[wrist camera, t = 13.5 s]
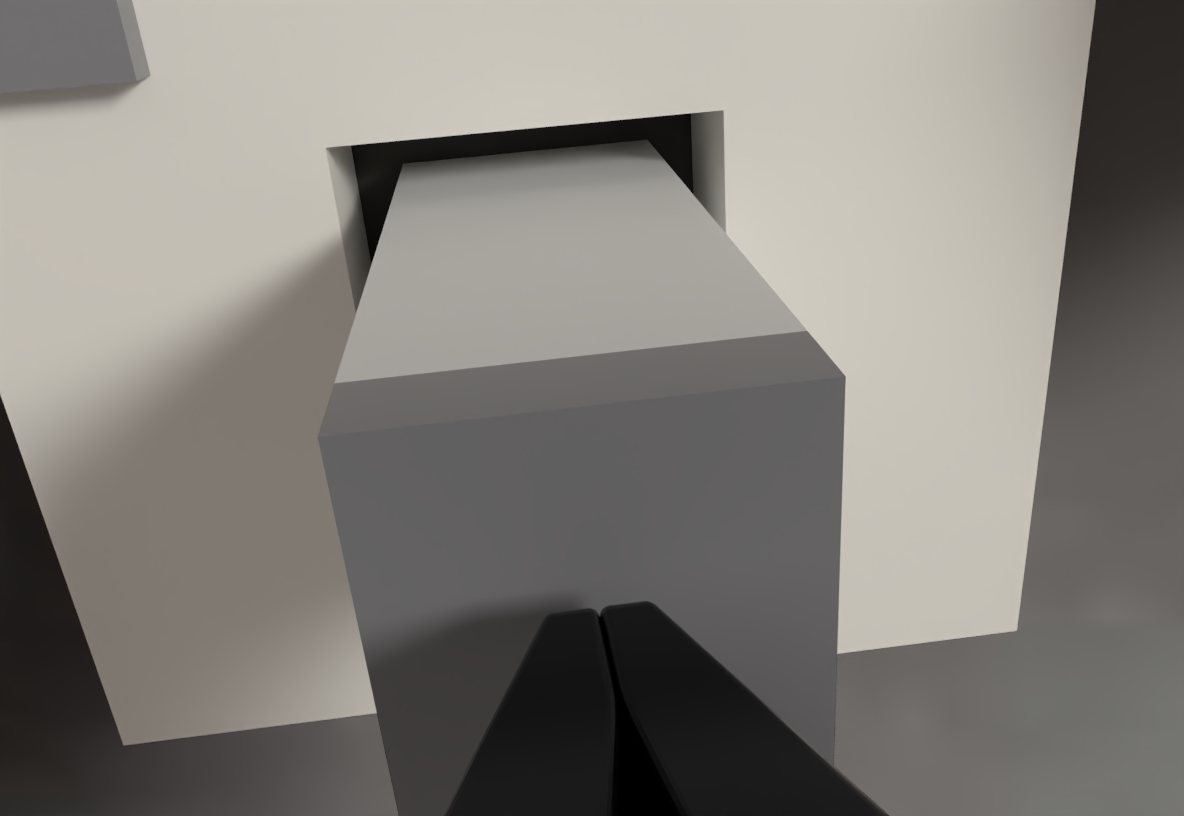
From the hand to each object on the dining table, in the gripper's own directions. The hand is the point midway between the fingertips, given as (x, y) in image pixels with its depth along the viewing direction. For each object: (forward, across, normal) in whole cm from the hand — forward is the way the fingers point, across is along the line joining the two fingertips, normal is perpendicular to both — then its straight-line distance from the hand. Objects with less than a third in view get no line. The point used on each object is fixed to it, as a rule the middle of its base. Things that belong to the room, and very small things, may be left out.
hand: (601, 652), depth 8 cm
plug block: (+10, 0, 0) cm, 11 cm away
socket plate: (+10, 0, 0) cm, 10 cm away
